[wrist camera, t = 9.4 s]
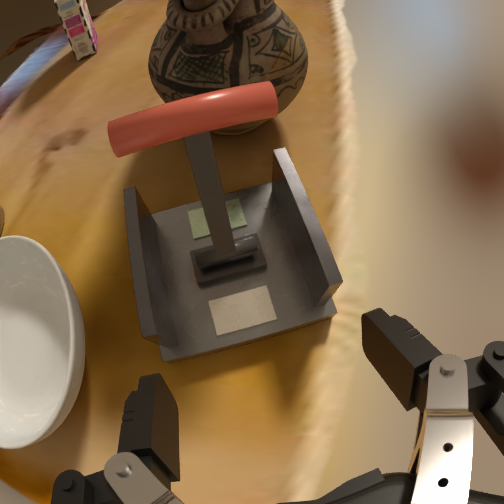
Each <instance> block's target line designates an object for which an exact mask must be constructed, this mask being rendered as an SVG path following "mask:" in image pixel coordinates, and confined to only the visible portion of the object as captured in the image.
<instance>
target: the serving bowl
mask: <svg viewBox="0 0 504 504" xmlns="http://www.w3.org/2000/svg"><path fill="white" fill-rule="evenodd" d="M85 353H86V350H85V330H84V323H83V317H82V313H81V309H80V305H79V302H78V299H77V296H76V294H75V291H74V289H73V287H72V285H71V282H70V281H69V279H68V277H67V275H66V273H65V272H64V270H63V269H62V267H61V266H60V265H59V263H58V262H57V261H56V259H55V258H54V257H53V256H52V255H51V254H50V252H49V251H48V250H47V249H46V248H44V247H43V246H42V245H41V244H39V243H38V242H36V241H34V240H32V239H30V238H27V237H24V236H5V237H1V238H0V448H3V449H9V450H10V449H22V448H25V447H28V446H31V445H33V444H35V443H38V442H40V441H41V440H43V439H45V438H46V437H48V436H49V435H50V434H52V433H53V432H54V431H55V430H56V429H57V428H58V427H59V426H60V425H61V424H62V423H63V421H64V420H65V419H66V417H67V416H68V414H69V413H70V411H71V409H72V407H73V405H74V403H75V401H76V398H77V396H78V393H79V390H80V387H81V382H82V378H83V373H84V365H85Z"/></svg>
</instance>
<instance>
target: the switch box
mask: <svg viewBox="0 0 504 504" xmlns="http://www.w3.org/2000/svg"><path fill="white" fill-rule="evenodd" d="M224 198H225V203H226V207H227V212H228V216H229V221H230V225H231V229H232V234H233V238H234V242H235V241H239V240H243V239H247V238H250V237H255V239H256V243H257V247H258V251H255V252H252V253H248V254H244V255H241V256H237V257H233V258H230V259H226V260H222V261H219V262H215V263H211V264H208V265H204V266H200V267H198V266H197V264H196V260H195V256H194V253H195V252H199V251H202V250H206V249H210V248H213V247H214V245H213V242H212V238H211V235H210V232H209V228H208V225H207V221H206V218H205V214H204V211H203V207H202V203H201V200H200V201H196V202H193V203H189V204H185V205H182V206H178V207H175V208H171V209H168V210H164V211H161V212H158V213H154V214H151V213H150V212H149V210H148V208H147V206H146V205H145V203H144V201H143V199H142V198H141V196H140V194H139V192H138V191H137V189H136V187H135V186H134V187H131V188H128V189H125V190H124V201H125V214H126V226H127V236H128V246H129V255H130V263H131V271H132V278H133V285H134V292H135V298H136V305H137V311H138V317H139V322H140V328H141V333H142V337H143V338H145V339H147V340H150V341H152V342H154V343H157V344H159V347H160V352H161V356H162V361H163V362H166V363H173V362H177V361H181V360H186V359H190V358H194V357H198V356H203V355H207V354H211V353H215V352H218V351H222V350H226V349H230V348H234V347H237V346H241V345H245V344H248V343H252V342H255V341H259V340H262V339H266V338H269V337H273V336H276V335H279V334H283V333H286V332H289V331H292V330H296V329H299V328H302V327H305V326H308V325H311V324H314V323H318V322H321V321H324V320H327V319H330V318H332V317H333V316H334V315H335V314H336V313H337V310H336V307H335V305H334V302H333V299H332V296H333V294H334V293H335V292H336V290H337V289H338V288H339V286H340V285H341V284H342V282H343V280H342V277H341V275H340V272H339V270H338V267H337V265H336V262H335V260H334V257H333V255H332V252H331V250H330V247H329V245H328V242H327V240H326V238H325V235H324V233H323V230H322V228H321V226H320V223H319V221H318V219H317V216H316V214H315V212H314V210H313V207H312V205H311V203H310V200H309V198H308V196H307V194H306V191H305V189H304V187H303V185H302V183H301V180H300V178H299V176H298V174H297V172H296V170H295V168H294V165H293V163H292V161H291V159H290V157H289V155H288V153H287V151H286V149H285V147H284V148H279V149H275V150H273V171H272V182H271V183H266V184H262V185H258V186H254V187H250V188H246V189H242V190H238V191H234V192H230V193H226V194H224Z"/></svg>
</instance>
